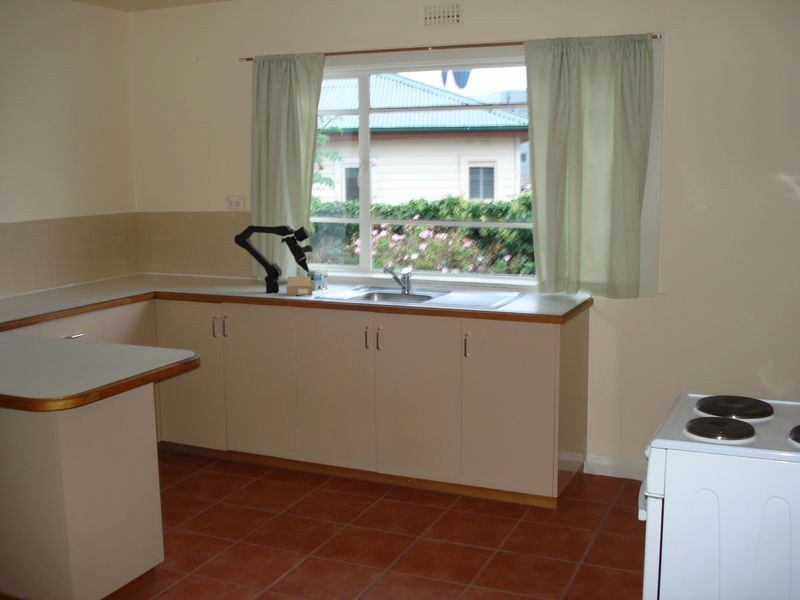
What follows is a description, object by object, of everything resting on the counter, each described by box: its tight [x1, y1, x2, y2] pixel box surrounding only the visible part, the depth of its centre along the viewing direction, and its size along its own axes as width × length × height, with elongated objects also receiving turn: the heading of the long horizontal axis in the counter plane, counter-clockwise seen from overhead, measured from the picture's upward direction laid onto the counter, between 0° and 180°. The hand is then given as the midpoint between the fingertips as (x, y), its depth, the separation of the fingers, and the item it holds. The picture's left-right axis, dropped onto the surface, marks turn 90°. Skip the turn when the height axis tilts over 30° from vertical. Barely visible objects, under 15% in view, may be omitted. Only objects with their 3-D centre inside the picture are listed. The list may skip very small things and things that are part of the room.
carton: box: [286, 283, 313, 297], centre depth 469 cm, size 14×11×5 cm
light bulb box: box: [306, 269, 328, 291], centre depth 491 cm, size 11×7×11 cm, turn 143°
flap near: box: [287, 276, 311, 286], centre depth 463 cm, size 12×5×1 cm
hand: (308, 271), depth 470 cm, fingers open, 9 cm apart
